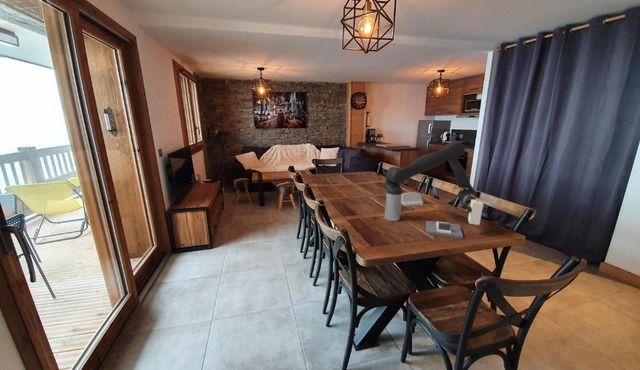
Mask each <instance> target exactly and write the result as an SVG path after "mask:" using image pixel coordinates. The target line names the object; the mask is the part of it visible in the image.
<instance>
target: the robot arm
mask: <svg viewBox="0 0 640 370" xmlns="http://www.w3.org/2000/svg"><path fill="white" fill-rule="evenodd" d="M465 151H466V146H465V145H464V143H462V142H459V141H455V142H454V141H453V142H449V143H445V145H444V146H443V149H441V150H436V151H431V152H429V153H426V154H424V155H422V156H421V155H420V156H419V157H417V158H416V159H415V160H414V161H413V162H412V163H410V164H409V165H407V166H404V167H402V168H399V167H396V166H391V167H389V168H388V169H387V170H386V173H385V188H386V194H385V195H386V198H385V206H384V207H385V208H384V220H387V221H389V222H390V221H391V222H397V221H399V220H401V209H402V204H401V199H402V194H403V189H402V187H401V185H400V184H402V183H403V182H405V181H407V180H409V179H410V178H411V179H412V177H414V176H416V175H419V174H421V173H423V172H425V171H428V170H431V169H432V168H434V167H436V166H439V165H441V164H443V163H444V162H447V161H448V162H447V163H449V166H450V168H451V170H452V171H453V174H454V177H455V181H456V184H457V186H458V188H460V189H461V188H462V190H460V191H458V192H457V197H458V199H459V201H460V204H459V208H461V209H463V210H464V211H468V213H469V212H472V208H471V206H470V204H471V200H476V198H478V197H477V196H478V195H477V194H478V193H477V191H476V190H475V188H474V187H473V186H472V184H471V181H470V178H469V175H468V173H467V171H466V169H465V168H464V167H463V165H461V163H460V162H459V159H458V157H461V156H462V155H463V154H464V153H465ZM464 188H465V189H464ZM466 188H467V189H466ZM487 211H488V205H487V204H483V208H482V214H481V215H483V214H484V213H486V212H487Z"/></svg>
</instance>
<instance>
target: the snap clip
mask: <svg viewBox="0 0 640 370" xmlns="http://www.w3.org/2000/svg"><path fill="white" fill-rule="evenodd" d="M438 222H439V226H438V228H439V229H443V230H450V224H451V223H449V222H445V223H440V222H441V221H438ZM448 223H449V224H448Z"/></svg>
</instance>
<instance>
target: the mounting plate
mask: <svg viewBox="0 0 640 370" xmlns="http://www.w3.org/2000/svg"><path fill="white" fill-rule="evenodd" d="M439 222H440V223H446V222H444V221H433V220H432V221H431V220H426V221H425V234H427V235H433V236H434V235H435V236H441V237H447V238H454V239H462V240H463V239H464V235H463V232H462V228H461V225H460V224H454V223H450V222H447V223H448V224H450V230H443V229H439V228H438V226H439Z"/></svg>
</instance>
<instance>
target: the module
mask: <svg viewBox="0 0 640 370" xmlns="http://www.w3.org/2000/svg"><path fill="white" fill-rule="evenodd" d="M470 206H471V208H472V212H469V211H468V216H467V217H468V218H467V220H468V221H467V222H468V223H469V224H470V225H478V226H479V225H480V223H481V219H482V215H483V214H482V208H483V206H484V203H483V201H482V200H480V198H478V197H476V200H471V204H470Z"/></svg>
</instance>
